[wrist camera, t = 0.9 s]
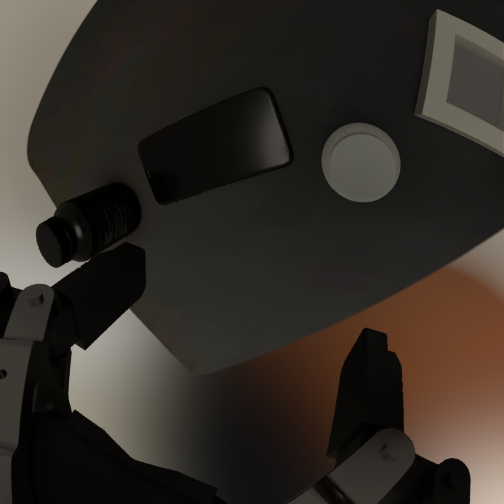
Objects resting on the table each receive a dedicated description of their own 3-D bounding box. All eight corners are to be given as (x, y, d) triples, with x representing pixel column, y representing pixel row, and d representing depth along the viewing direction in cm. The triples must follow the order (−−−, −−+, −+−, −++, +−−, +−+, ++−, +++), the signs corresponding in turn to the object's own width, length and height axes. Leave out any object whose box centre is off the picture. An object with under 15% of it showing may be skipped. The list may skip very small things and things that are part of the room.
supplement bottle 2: (398, 167, 23) (423, 191, 14) (346, 193, 25) (344, 230, 17) (368, 113, 22) (380, 106, 13) (316, 141, 24) (299, 149, 16)
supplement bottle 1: (102, 224, 36) (35, 262, 26) (103, 176, 33) (27, 205, 23) (140, 240, 35) (72, 288, 25) (144, 189, 32) (64, 225, 21)
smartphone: (270, 83, 23) (138, 142, 30) (267, 82, 23) (133, 143, 29) (297, 163, 26) (162, 206, 32) (296, 164, 25) (157, 208, 32)
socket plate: (429, 19, 16) (437, 9, 13) (517, 66, 14) (532, 62, 11) (413, 115, 20) (422, 113, 18) (503, 157, 18) (518, 162, 16)
